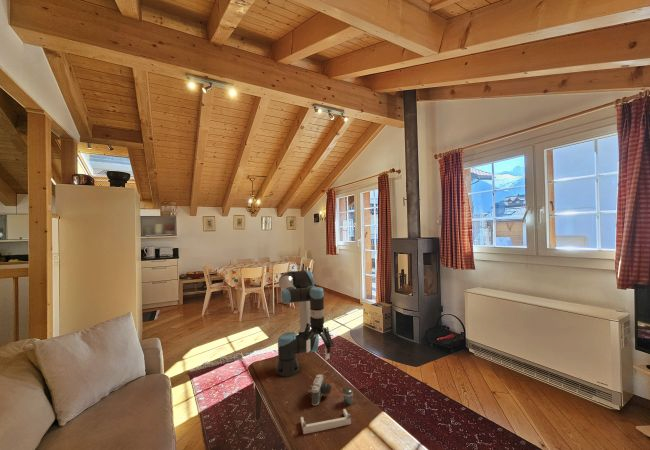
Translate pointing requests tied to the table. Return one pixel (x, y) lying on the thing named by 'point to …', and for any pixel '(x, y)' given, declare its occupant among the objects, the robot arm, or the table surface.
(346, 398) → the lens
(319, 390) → the camera
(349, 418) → the bracket
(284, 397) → the table surface
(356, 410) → the table surface
